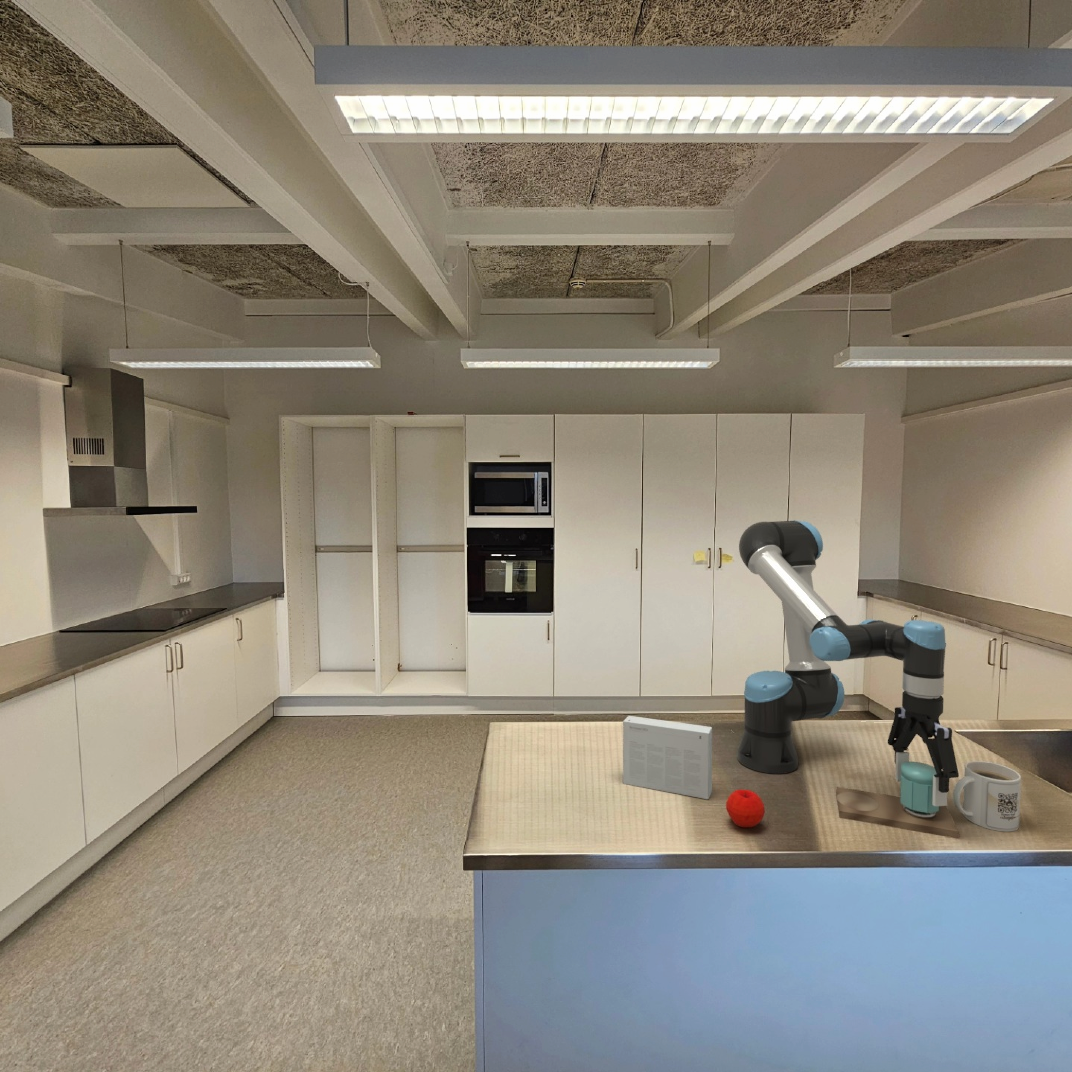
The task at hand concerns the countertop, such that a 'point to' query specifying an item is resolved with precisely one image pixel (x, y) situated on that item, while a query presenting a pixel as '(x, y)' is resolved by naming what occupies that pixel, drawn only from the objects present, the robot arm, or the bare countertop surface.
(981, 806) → the mug
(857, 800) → the board
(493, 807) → the countertop surface
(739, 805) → the apple
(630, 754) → the skincare box
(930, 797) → the cap
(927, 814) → the stud
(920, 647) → the robot arm
